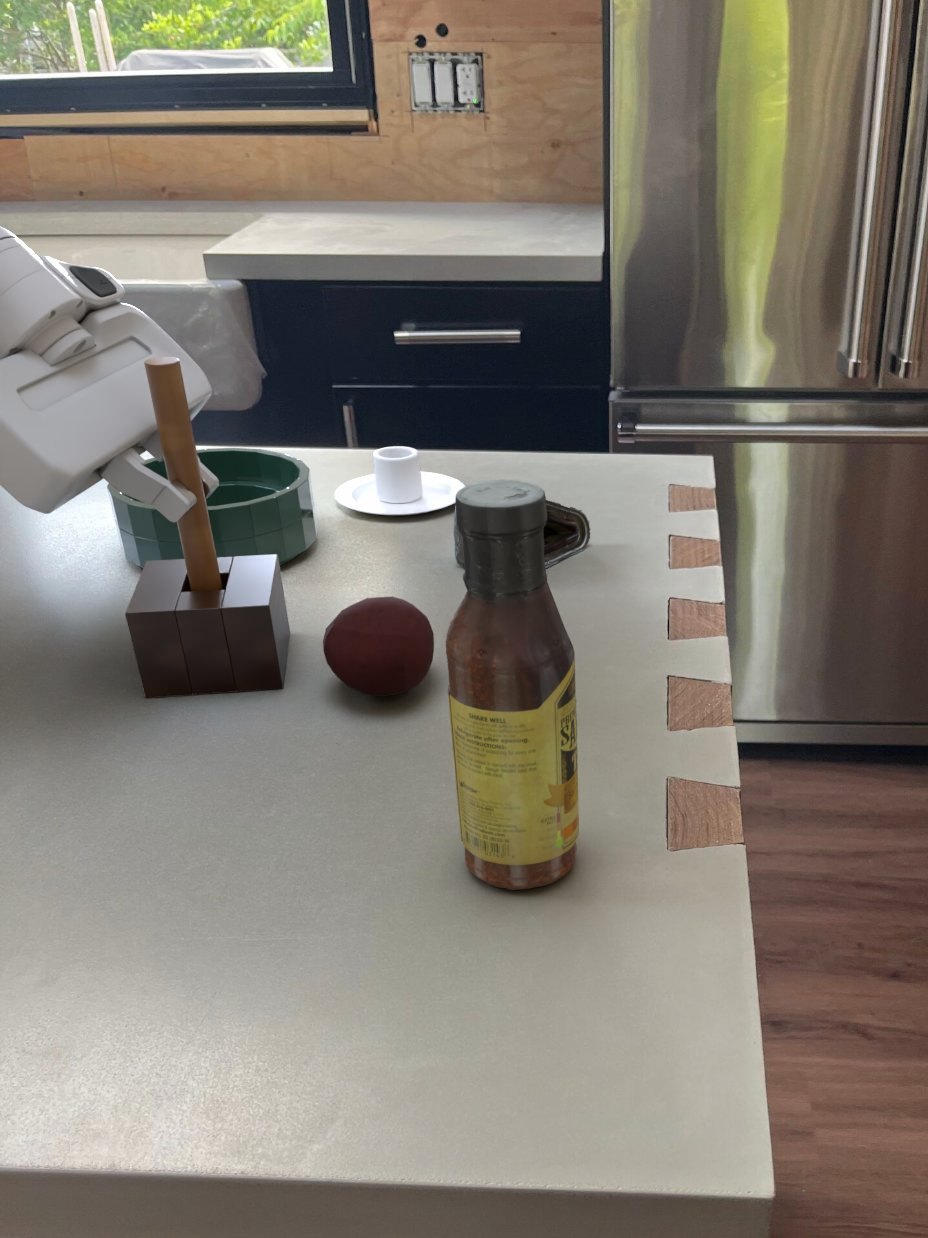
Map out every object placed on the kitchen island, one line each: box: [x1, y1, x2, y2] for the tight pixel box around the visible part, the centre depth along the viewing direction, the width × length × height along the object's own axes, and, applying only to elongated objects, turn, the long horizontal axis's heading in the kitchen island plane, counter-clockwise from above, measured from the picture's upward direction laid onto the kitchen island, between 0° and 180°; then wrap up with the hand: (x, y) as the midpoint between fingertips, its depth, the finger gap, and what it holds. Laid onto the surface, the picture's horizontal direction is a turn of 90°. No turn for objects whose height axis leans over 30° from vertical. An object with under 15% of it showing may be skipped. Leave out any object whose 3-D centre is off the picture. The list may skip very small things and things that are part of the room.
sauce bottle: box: [445, 479, 580, 891], centre depth 58 cm, size 7×6×20 cm
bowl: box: [106, 447, 318, 569], centre depth 97 cm, size 16×16×6 cm
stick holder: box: [124, 554, 291, 699], centre depth 80 cm, size 9×9×6 cm
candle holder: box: [334, 445, 466, 516], centre depth 108 cm, size 12×12×4 cm
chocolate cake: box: [453, 499, 591, 569], centre depth 97 cm, size 10×7×12 cm
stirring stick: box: [144, 357, 223, 592], centre depth 76 cm, size 2×2×20 cm
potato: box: [322, 596, 435, 697], centre depth 77 cm, size 7×8×6 cm
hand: (199, 503), depth 75 cm, fingers closed on stirring stick, 2 cm apart
